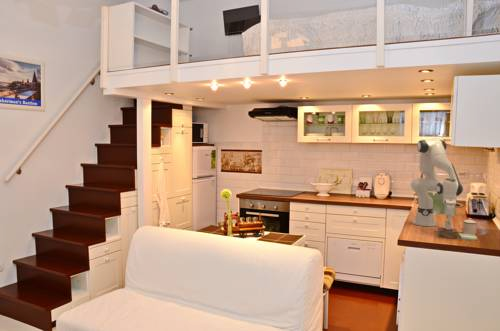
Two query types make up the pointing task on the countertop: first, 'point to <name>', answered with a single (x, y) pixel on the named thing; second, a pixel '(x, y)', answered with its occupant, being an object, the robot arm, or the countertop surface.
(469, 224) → the teacup with lid
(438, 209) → the grocery bag
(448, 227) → the peg
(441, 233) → the pocket block
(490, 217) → the countertop surface
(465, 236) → the tray
